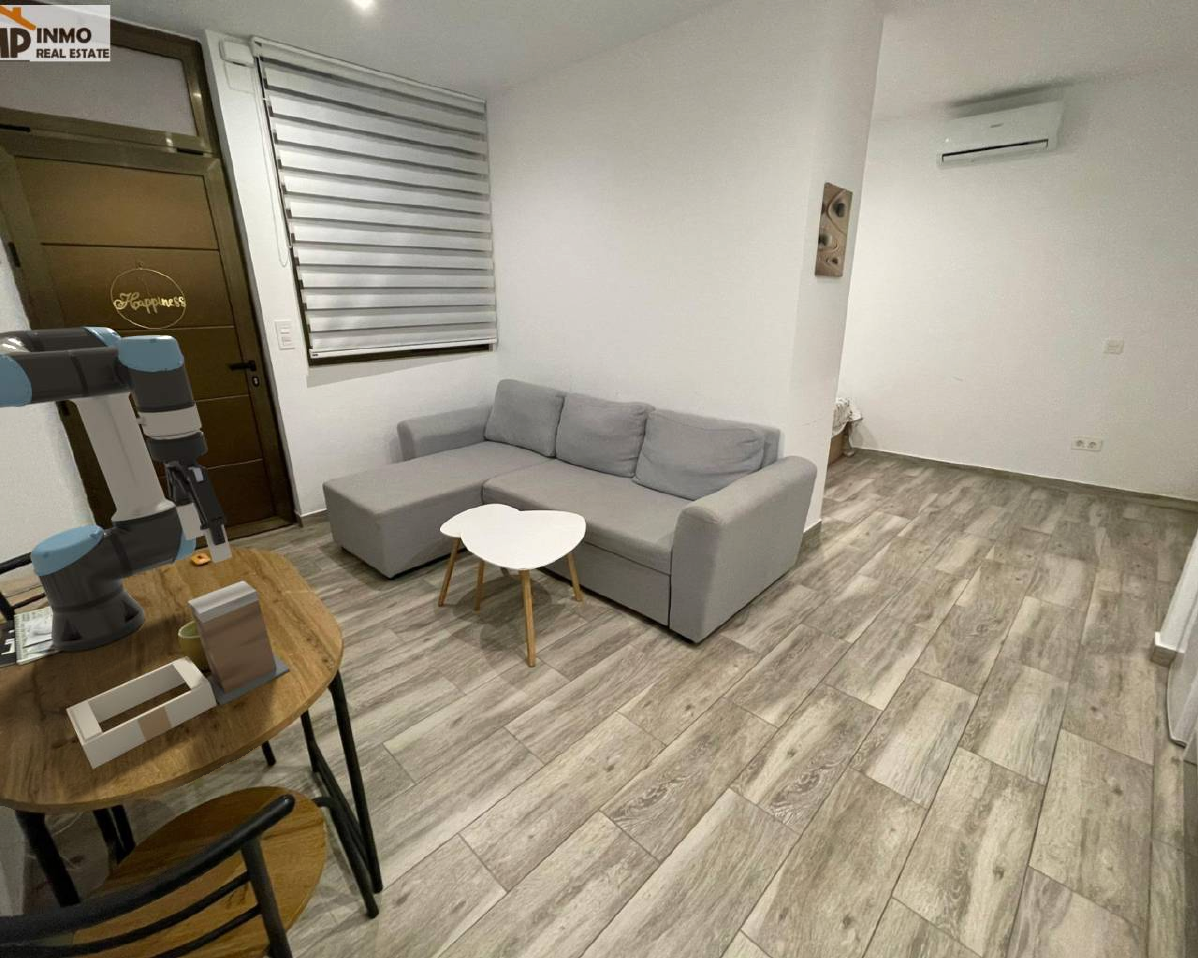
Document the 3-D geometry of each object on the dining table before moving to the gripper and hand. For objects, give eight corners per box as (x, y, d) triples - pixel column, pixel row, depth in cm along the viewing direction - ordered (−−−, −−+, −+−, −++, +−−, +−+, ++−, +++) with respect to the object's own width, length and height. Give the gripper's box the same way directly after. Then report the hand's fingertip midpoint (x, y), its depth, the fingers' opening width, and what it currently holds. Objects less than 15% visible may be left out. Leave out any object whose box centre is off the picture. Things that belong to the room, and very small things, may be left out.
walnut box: (213, 680, 102) (187, 601, 95) (264, 655, 108) (243, 580, 102) (225, 694, 98) (199, 613, 92) (277, 668, 105) (256, 590, 98)
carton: (76, 731, 91) (65, 707, 89) (194, 676, 103) (186, 653, 101) (92, 769, 83) (81, 743, 82) (217, 704, 96) (209, 681, 94)
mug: (212, 674, 101) (196, 625, 100) (175, 680, 104) (159, 633, 103) (267, 645, 113) (253, 602, 112) (233, 651, 116) (218, 609, 115)
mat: (202, 682, 102) (201, 680, 102) (268, 649, 111) (268, 648, 110) (221, 705, 96) (220, 704, 96) (289, 669, 105) (289, 668, 105)
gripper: (124, 425, 90) (161, 535, 98) (170, 453, 76) (209, 579, 83) (177, 417, 96) (207, 522, 103) (229, 441, 82) (260, 561, 89)
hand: (208, 548), depth 93 cm, fingers open, 13 cm apart
